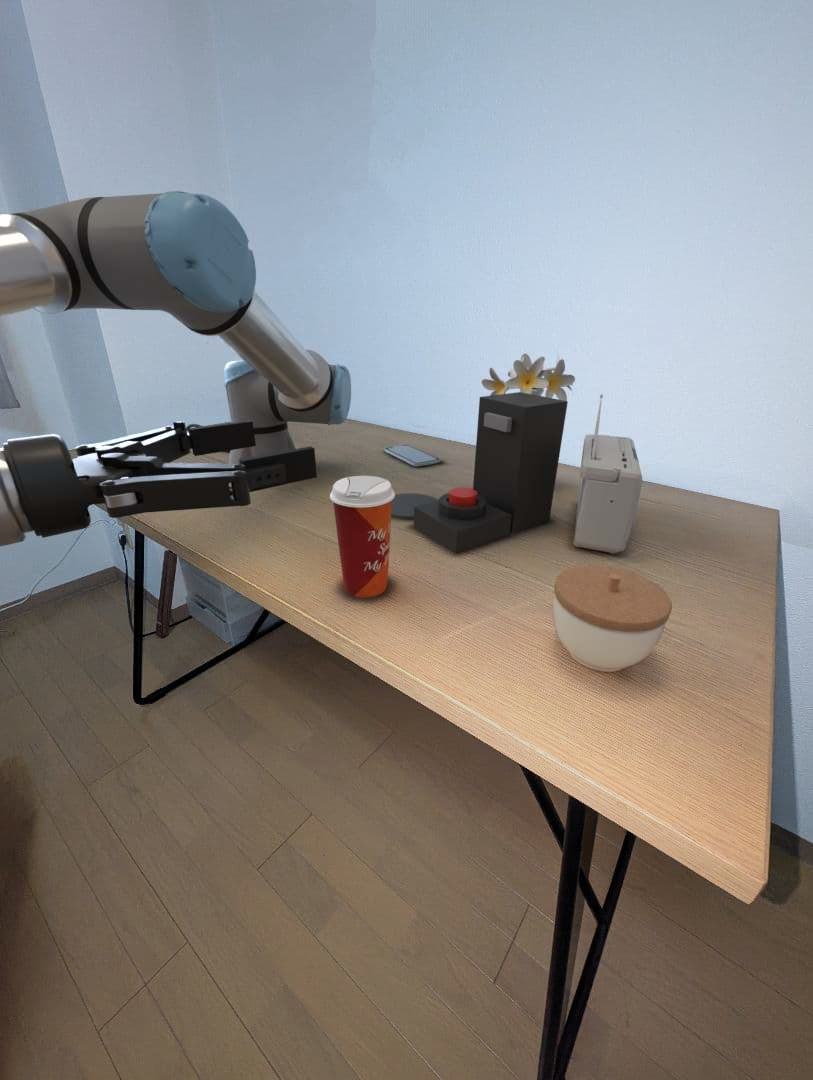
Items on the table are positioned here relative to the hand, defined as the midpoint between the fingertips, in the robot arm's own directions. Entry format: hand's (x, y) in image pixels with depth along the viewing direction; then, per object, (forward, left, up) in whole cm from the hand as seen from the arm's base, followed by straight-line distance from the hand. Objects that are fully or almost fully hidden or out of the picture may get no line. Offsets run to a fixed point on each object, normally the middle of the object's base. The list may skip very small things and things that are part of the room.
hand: (280, 446), depth 47 cm
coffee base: (-7, +31, -20) cm, 37 cm away
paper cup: (-1, +10, -20) cm, 22 cm away
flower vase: (-18, +56, -20) cm, 62 cm away
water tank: (-7, +42, -20) cm, 47 cm away
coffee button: (-7, +31, -15) cm, 35 cm away
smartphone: (-46, +48, -20) cm, 69 cm away
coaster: (-20, +30, -20) cm, 41 cm away
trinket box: (+24, +24, -20) cm, 39 cm away
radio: (+4, +51, -20) cm, 55 cm away
